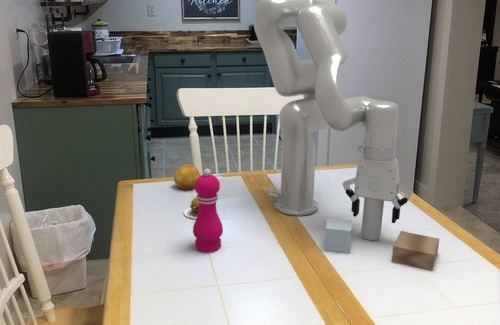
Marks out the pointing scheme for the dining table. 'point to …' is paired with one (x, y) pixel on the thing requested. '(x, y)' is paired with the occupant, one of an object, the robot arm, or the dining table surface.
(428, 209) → the dining table surface
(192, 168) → the fruit
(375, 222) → the beverage can
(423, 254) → the walnut block
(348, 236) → the grey-blue block
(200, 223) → the pepper mill
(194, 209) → the hamburger
